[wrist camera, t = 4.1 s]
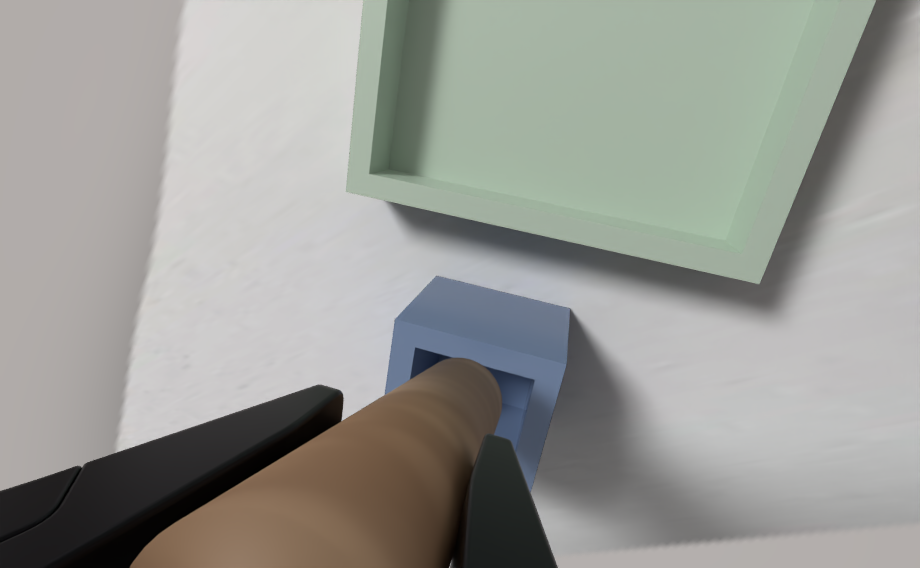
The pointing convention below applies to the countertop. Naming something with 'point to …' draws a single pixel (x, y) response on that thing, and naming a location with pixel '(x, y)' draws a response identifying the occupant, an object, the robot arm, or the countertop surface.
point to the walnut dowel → (353, 487)
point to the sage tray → (603, 117)
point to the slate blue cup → (490, 353)
